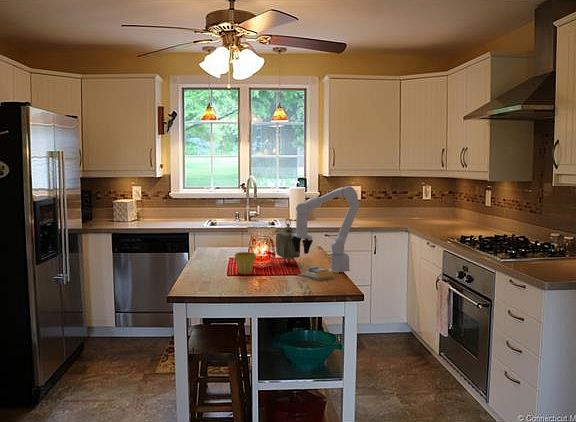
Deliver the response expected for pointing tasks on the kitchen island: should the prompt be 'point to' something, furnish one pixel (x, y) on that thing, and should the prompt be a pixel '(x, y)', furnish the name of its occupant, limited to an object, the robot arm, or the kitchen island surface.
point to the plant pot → (245, 262)
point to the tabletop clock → (286, 244)
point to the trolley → (316, 269)
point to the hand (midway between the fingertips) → (301, 252)
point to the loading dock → (318, 275)
